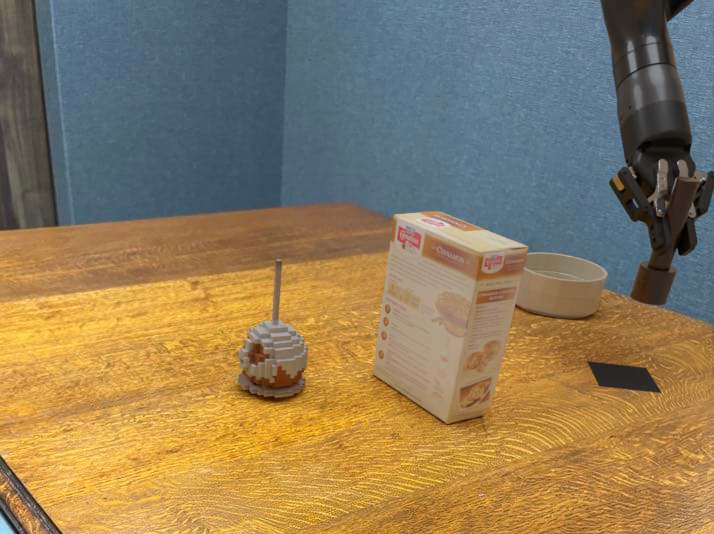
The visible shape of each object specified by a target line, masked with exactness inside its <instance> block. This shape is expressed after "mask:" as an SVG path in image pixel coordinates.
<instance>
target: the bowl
mask: <svg viewBox="0 0 714 534" xmlns="http://www.w3.org/2000/svg"><path fill="white" fill-rule="evenodd" d="M608 275H609V272H608V271H607V269H605V268H604V267H603V266H601V265H599V264H597V263H595V262H593V261H591V260H588V259H584V258H581V257H577V256H575V255H574V256H573V255H569V254H563V253H555V252H542V251H541V252H537V251H533V252H528V253H527V257H526V261H525V265H524V270H523V274H522V278H521V283H520V287H519V291H518V295H517V300H516V304H515V306H517V307H518V308H521V309H523V310H524V311H527V312H530V313H533V314H536V315H540V316H544V317H547V318H548V317H549V318H556V319H564V320H565V319H567V320H569V319H570V320H572V319H573V320H574V319H581V318H586V317H588V316H591V315H593V314H594V313H596V312H597V311H598V309H599V306H600V303H601V299H602V297H603V292H604V289H605V285H606V283H607V279H608Z"/></svg>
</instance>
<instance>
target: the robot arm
mask: <svg viewBox="0 0 714 534" xmlns="http://www.w3.org/2000/svg"><path fill="white" fill-rule="evenodd" d="M695 1H696V0H599V2H600V8H601V12H602V17H603V24H604V26H605V29H606V32H607V37H608V40H609V46H610V54H611V57H610V58H611V71H612V78H613V79H612V80H613V84H614V89H615V90H614V91H615V95H616V96H615V97H616V116H617V121H618V122H617V123H618V125H619V134H620V139H621V144H622V145H621V146H622V151H623V157H624V162H625V164H626V166H627V167H626V166H623V167H621V168H620V169H619V170H618V171H617V172H616V173H615V174H614V175H613V176H612V177H611V178H610V179H609V181H608V184H609V187H610V188H611V190H612V191H613V193H614V194H615V196H616V198H617V199H618V201H619V203H620V204H621V206H622V208H623V209H624V211H625V213H626V214H627V216H628V218H629V219H630V220H631V221H632V222H633V223H638V222H642V223H643V224H644V226H645V227H646V228H647V231H648V238H649V242H650V243H649V244H650V247H651V249H652V250H654V251H655V255H664V254H665V253H666V252H668V251H669V250H670V249H671V247H672V242H671V236H670V230H669V224H668V219H667V218H663V217H664V216H665V214H666V207H667V204H668V201H669V198H670V195H671V192H672V189H673V185H674V182H675V179H676V177H680V176H682V177H690V178H695V179H697V180H699V181H700V182H699V185H698V188H697V191H696V194H695V197H694V200H693V203H692V206H691V209H690V212H689V214H688V217H687V220H686V223H685V226H684V229H683V232H682V235H681V238H680V241H679V244H678V247H677V254H678V256H680V257H685V256H688V255H689V254H691V253H693V252H694V250H695V249H696V248H697V246H698V242H699V241H698V237H697V230H696V225H695V224H696V223H695V222H697V220H699V219H700V218H701V217H703V216H704V215H706V214H707V213H708V212H709V210H710V209H709V208H710V205H711V202H712V198H713V194H714V170H710V171H708V172H707V173H704V172H702V171H701V170H699V169H697V165H696V162H695V161H694V160H693V158H692V155H691V149H692V144H693V134H692V129H691V124H690V118H689V112H688V107H687V102H686V95H685V90H684V86H683V83H682V81H681V78H680V76H679V72H678V66H677V60H676V55H675V50H674V49H675V48H674V46H673V45H674V44H673V42H672V38H671V35H670V32H669V27H668V23H670V22H671V21H672V20H673V19H674V18H675V17H677V16H678V15H679V14H680V13H681V12H682V11H684V10H685V9H687V8H688V7H689V6H690V5H691V4H693V3H694V2H695ZM635 203H636V204H635ZM637 206H638V207H637Z"/></svg>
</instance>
